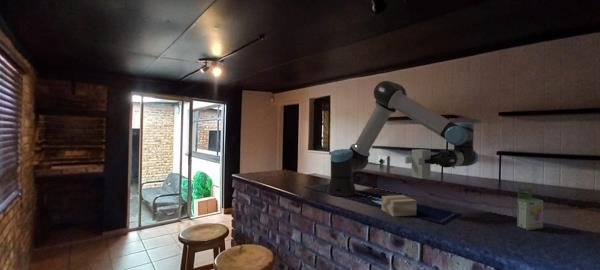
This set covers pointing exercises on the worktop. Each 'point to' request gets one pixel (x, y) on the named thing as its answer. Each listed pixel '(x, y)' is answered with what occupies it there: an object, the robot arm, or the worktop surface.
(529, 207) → the ink box
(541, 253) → the worktop surface
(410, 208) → the birch block
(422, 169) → the sage block
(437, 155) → the robot arm
